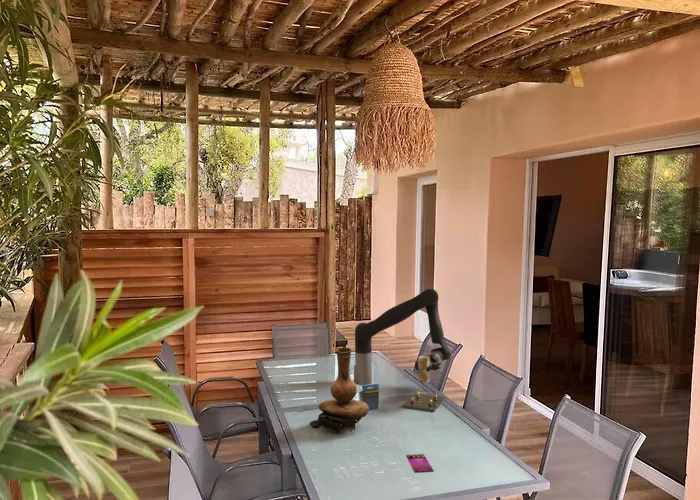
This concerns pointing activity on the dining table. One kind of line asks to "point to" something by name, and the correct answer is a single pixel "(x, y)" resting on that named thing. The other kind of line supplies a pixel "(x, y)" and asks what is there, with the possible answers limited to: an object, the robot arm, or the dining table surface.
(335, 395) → the vase
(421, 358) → the maple block
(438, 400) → the chassis
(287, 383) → the dining table surface
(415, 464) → the smartphone
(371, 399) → the label tape box
